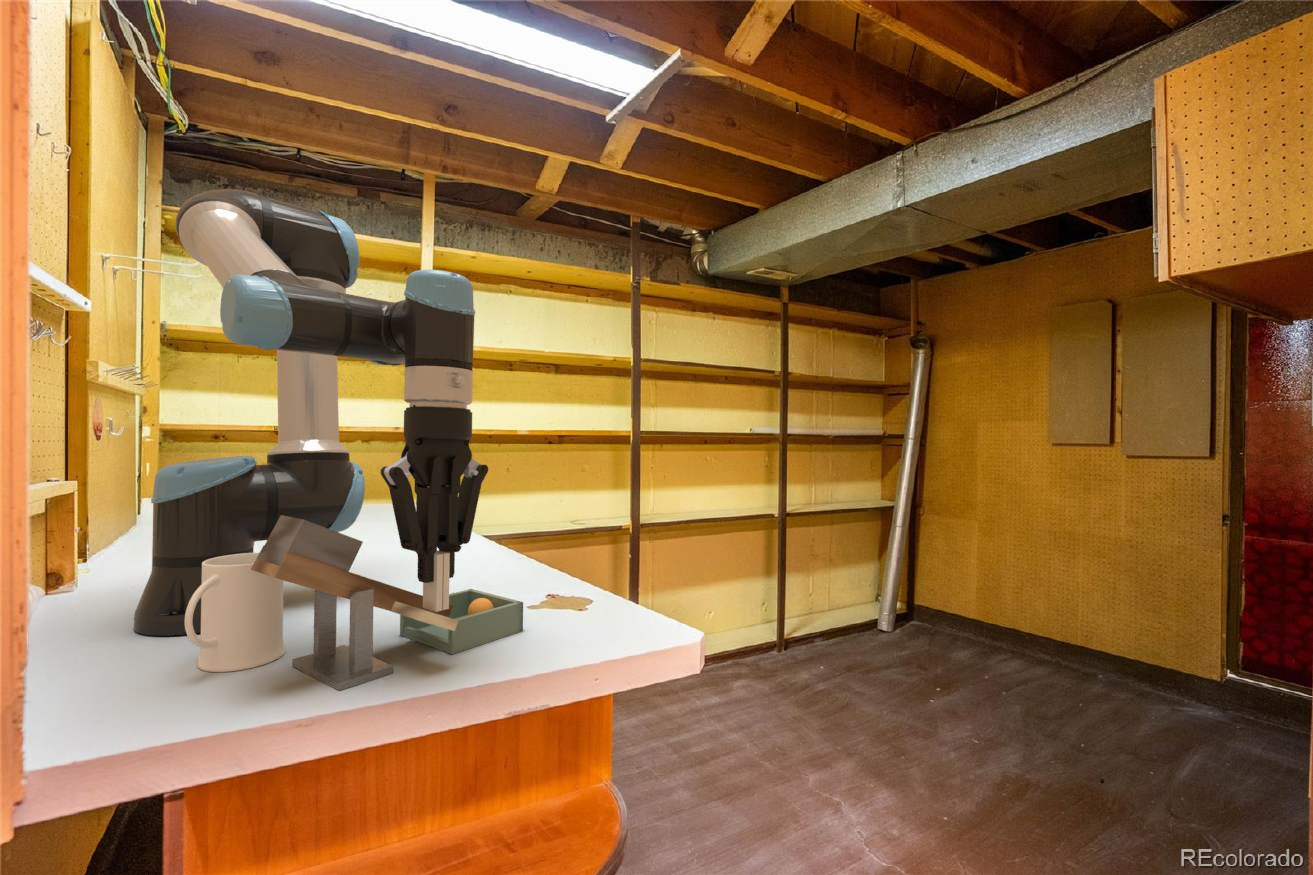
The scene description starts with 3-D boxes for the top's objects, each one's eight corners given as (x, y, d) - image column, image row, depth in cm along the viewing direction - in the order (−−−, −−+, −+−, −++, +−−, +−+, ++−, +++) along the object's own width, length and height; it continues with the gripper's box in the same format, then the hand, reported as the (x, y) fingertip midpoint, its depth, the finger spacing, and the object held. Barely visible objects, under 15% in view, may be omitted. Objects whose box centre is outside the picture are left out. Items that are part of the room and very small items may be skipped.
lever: (249, 569, 62) (279, 514, 65) (417, 617, 78) (436, 572, 81) (306, 588, 55) (337, 526, 57) (478, 637, 71) (497, 587, 73)
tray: (399, 635, 79) (400, 605, 79) (470, 615, 88) (471, 588, 88) (452, 654, 72) (452, 622, 72) (522, 630, 82) (523, 602, 82)
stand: (292, 666, 68) (293, 581, 68) (344, 651, 73) (345, 572, 73) (339, 690, 62) (340, 597, 62) (393, 672, 67) (394, 586, 67)
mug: (212, 688, 62) (214, 574, 62) (147, 680, 64) (149, 570, 64) (301, 649, 74) (303, 553, 74) (244, 643, 75) (246, 550, 75)
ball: (486, 609, 86) (468, 627, 83) (477, 590, 85) (458, 608, 82) (503, 614, 84) (484, 632, 81) (493, 594, 82) (474, 612, 80)
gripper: (404, 401, 61) (400, 628, 61) (504, 408, 72) (501, 601, 72) (366, 404, 65) (363, 615, 65) (466, 410, 76) (463, 592, 76)
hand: (435, 608), depth 68 cm, fingers closed
